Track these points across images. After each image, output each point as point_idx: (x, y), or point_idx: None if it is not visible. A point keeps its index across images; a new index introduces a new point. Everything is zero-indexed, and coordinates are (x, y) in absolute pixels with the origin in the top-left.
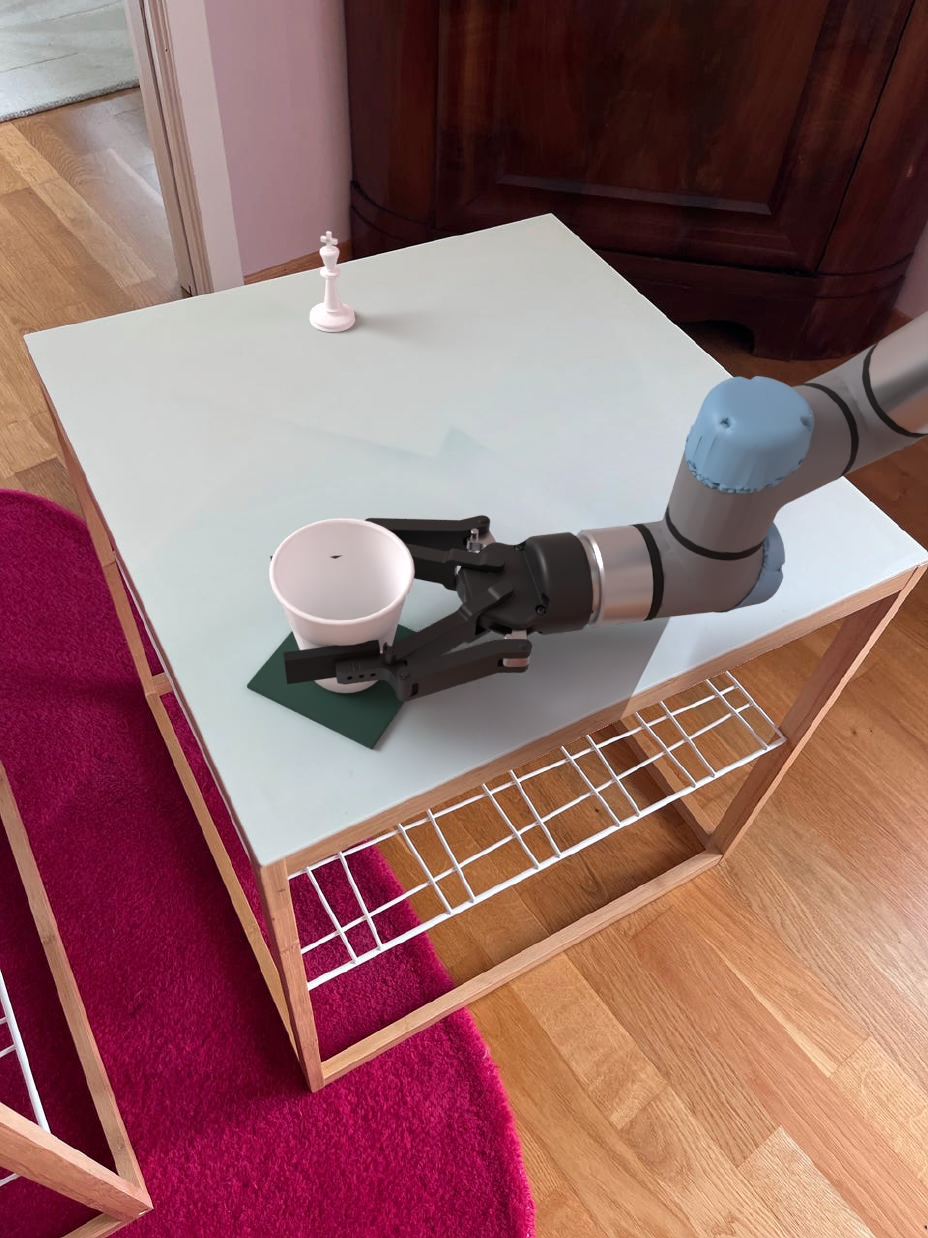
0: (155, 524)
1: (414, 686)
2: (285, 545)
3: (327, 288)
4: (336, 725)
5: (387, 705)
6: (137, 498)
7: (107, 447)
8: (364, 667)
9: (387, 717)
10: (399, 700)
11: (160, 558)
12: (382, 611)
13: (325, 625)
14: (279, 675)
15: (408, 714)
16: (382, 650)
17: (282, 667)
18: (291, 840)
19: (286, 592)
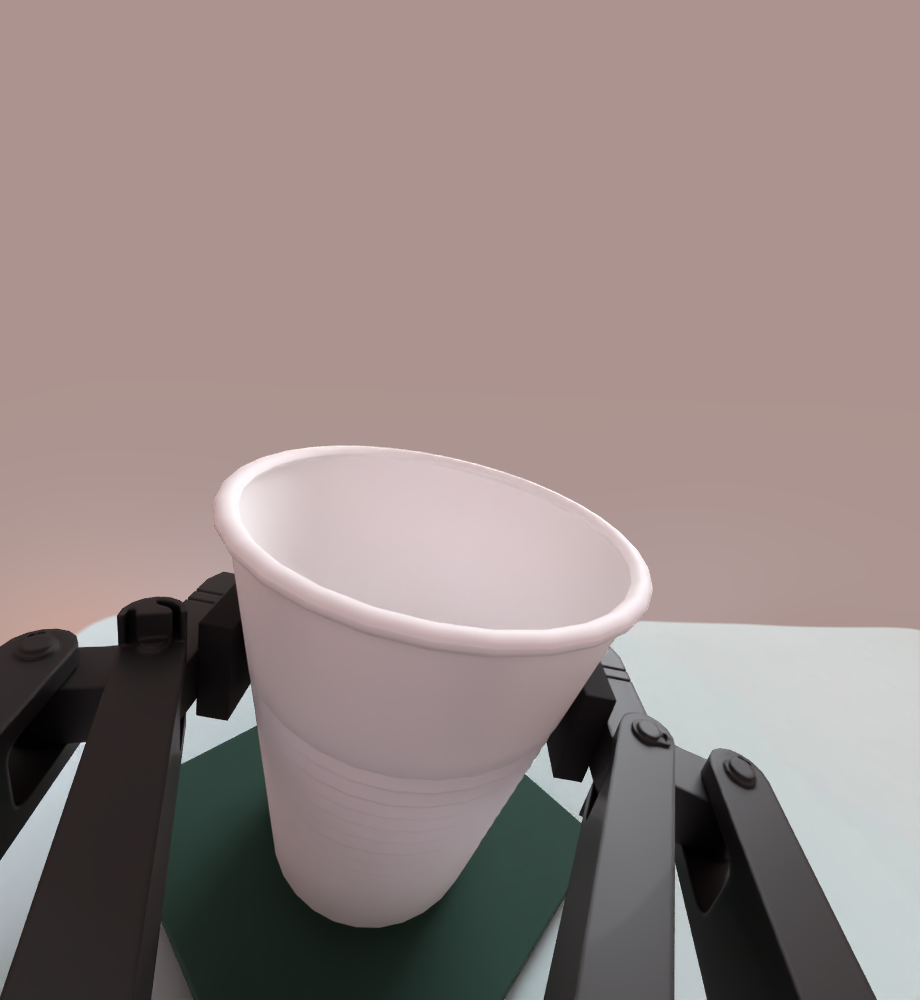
0: (694, 651)
1: (26, 755)
2: (535, 489)
3: None
4: (226, 746)
5: (195, 882)
6: (733, 647)
7: (807, 643)
8: (187, 609)
9: None
10: (184, 926)
11: (634, 642)
12: (225, 500)
13: (290, 473)
14: None
15: None
16: (263, 747)
17: None
18: (77, 636)
19: (467, 562)
